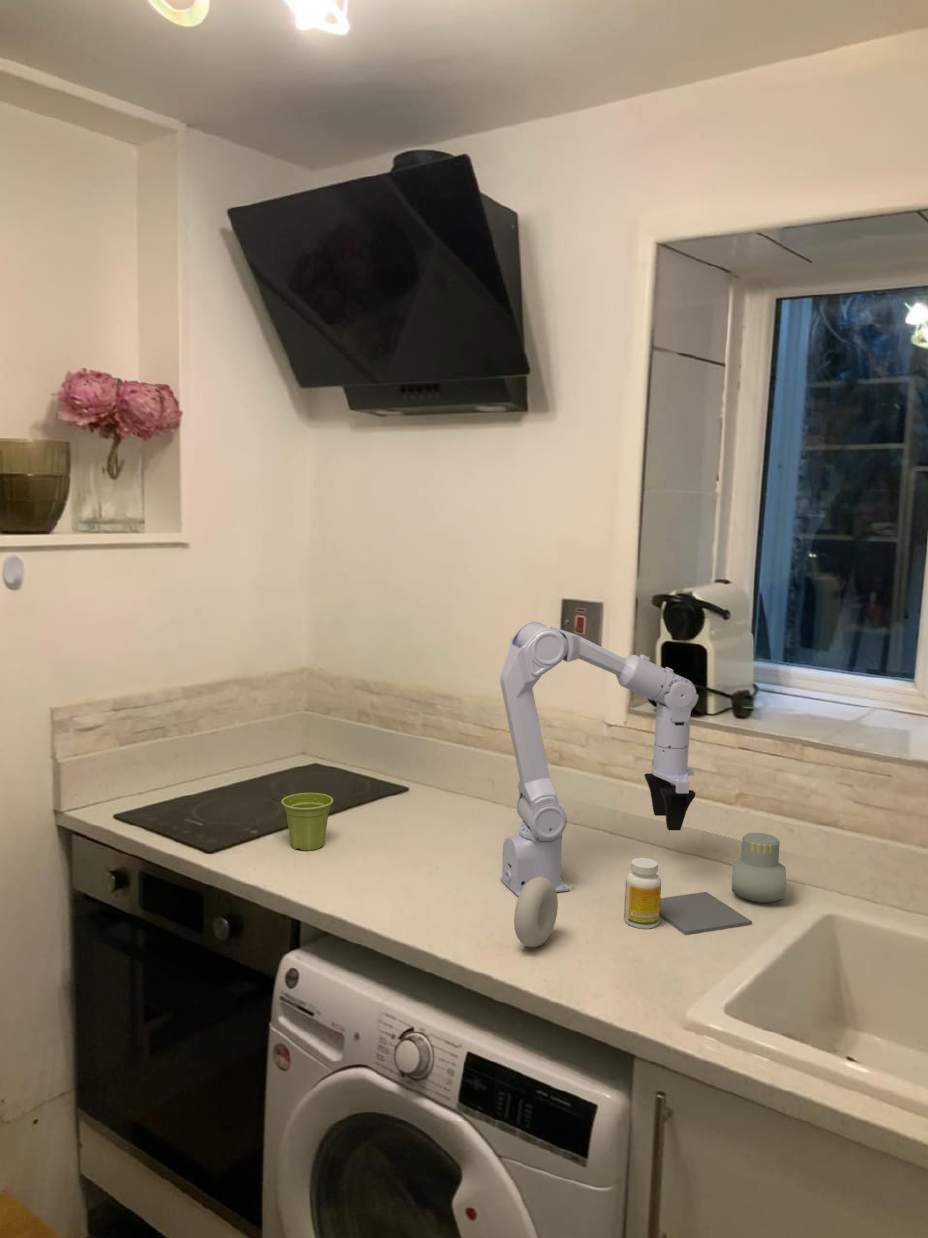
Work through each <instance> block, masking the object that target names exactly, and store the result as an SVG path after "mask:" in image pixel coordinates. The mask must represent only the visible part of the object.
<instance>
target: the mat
mask: <svg viewBox="0 0 928 1238" xmlns="http://www.w3.org/2000/svg"><path fill="white" fill-rule="evenodd" d="M659 917H661V918H662V919H663V920H665V921H666V922H667V923H669V924H670V925H671V926H672V927H674V928H675V929H677V930H678V931H680V933H682V934H684V935H685V936H687V935H694V934H699V933H706V932H711V931H712V932H713V931H718V930H724V929H730V928H731V929H733V928H737V927H738V928H739V927H744V926H749V925H750V926H751V925H752V924H753V921H752V920H751V919H749V918H748V917H746V916H744V915H743V914H742V913H740V912H738V911H736V910H735V909H734V908H732V907H731V906H729V905H728V904H726V903H724V902H723V901H721V900H720V899H718V898H717V897H715V896H714V895H712V894H710V893H709V892H707V891H702V892H695V893H689V894H683V895H682V894H680V895H673V896H667V897H666V896H665V897H660V912H659Z"/></svg>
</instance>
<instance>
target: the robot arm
mask: <svg viewBox="0 0 928 1238" xmlns="http://www.w3.org/2000/svg"><path fill="white" fill-rule="evenodd" d="M576 660H581V661H584V662H586V663H588V664H590V665H592V666H594V667H597V668H599V669H601V670H604V671H606V672H608V673H611V674H613V675H615V677H616V679H617V682H618V684H619V686H620V687H622V688H625V689H627V690H629V691H631V692H633V693H636V694H638V695H640V696H642V697H644V698H645V699H649V700H650V701H654V702H655V703H656V709H655V710H656V713H655V730H654V743H653V744H654V746H653V758H652V759H651V760H652V761H651V773H649V772H648V773H645V774H644V778H645V781H646V784H647V785H648V790H649V793H650V797H651V798H650V799H651V803H652V810H653V815H654V816H656V817H659V816H660V817H661V816H662V817H663V816H664V817H665V823H666V828H667V830H668V831H681V829H682V826H683V823H684V819H685V817H686V814H687V811H688V809H689V806H690V805H691V804H692V802H693V801H694V799H695V797H696V791H694V790H693V789H690V781H689V776H695V771H694V770H693V769H692V768H688V763H689V748H690V747H689V746H690V745H689V744H690V732H691V731H690V729H691V712H692V710H693V709H694V707H696V704H697V703H698V701H699V694H698V693H697V689H696V687H695V685H694V683H693V682H692V681H691V680H689V679H687V678H686V677H683V676H681V675H679V674H676V673H675V672H674V669H672V668H670V667H668V666H666V667H665V668H664V667H662V666H659V665H657V664H656V663H653V662H651V661H650V660H651V658H650V657H649V656H648V655H647V656H646V655H645V654H640V655H639V656H638V655H637V654H632V655H628V656H626V657H622V656H620V655H618V654H616V653H614V652H613V651H610V650H608V649H607V648H604V647H602V646H600V645H598V644H596V643H594V642H592V641H590V640H588V639H587V638H585V637H583V636H581V635H578V634H575V633H573V632H569V631H567V630H563V629H560V628H556V627H553V626H550V627H548V626H547V625H545V624H544V623H542V622H539V621H530V622H527V623H524V624H523V625H521V627H520V628H519V629H518V630H517V631H516V632H515V633H514V635H513V636H512V637H511V638H510V640H509V649H508V652H507V655H506V657H505V660H504V664H503V666H502V669H501V672H500V676H499V683H500V686H501V687H500V688H501V693H502V698H503V702H504V707H505V712H506V718H507V722H508V727H509V732H510V737H511V743H512V747H513V753H514V756H515V757H514V758H515V762H516V767H517V773H518V777H519V781H518V784H517V788H518V789H517V790H518V798H517V801H516V812H517V815H519V816H518V817H520V819H522V822H521V824H520V826H519V828H518V832H517V833H516V834H514V835H512V836H508V837H506V838H505V839H504V841H503V845H502V867H501V869H502V870H501V873H502V874H501V876H500V878H499V880H500V881H501V882H502V883H503V884H504V885H505V886H506V887H507V888H508V889H510V890H511V892H512V893H514V895H516V896H517V897H519V895H520V892H521V891H522V889H523V887H524V885H525V884H526V883H527V882H528V881H530V880H531V879H533V878H536V877H543V878H546V879H548V880H550V881H551V882H552V884H553V885H554V887H555V889H556V893H558V892H559V893H560V892H567V891H570V890H571V887H570V886H569V885H568V884H567V883H565V882H564V881H563V880H562V879H561V873H562V872H561V869H562V849H563V848H562V846H563V845H562V844H563V843H562V842H563V833H564V832H565V830H566V827H567V824H568V817H567V816H568V815H567V813H566V811H565V809H564V808H563V806H561V804H560V803H559V801H558V795H557V792H556V790H555V787H554V785H553V782H552V779H551V777H550V771H549V767H548V766H549V765H548V762H547V757H546V752H545V746H544V741H543V736H542V732H541V730H542V729H541V726H540V721H539V716H538V710H537V705H536V699H535V695H534V691H533V688H534V687H535V685H536V684H537V682H539V680H540V679H541V677H543V675H545V674H546V673H547V672H549V671H550V670H552V669H553V668H555V667H556V666H557V665H559V664H560V663H561V662H562V661H564V662H566V663H569V662H573V661H576Z"/></svg>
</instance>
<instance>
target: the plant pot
mask: <svg viewBox="0 0 928 1238" xmlns="http://www.w3.org/2000/svg"><path fill="white" fill-rule="evenodd" d="M333 804H334V798H333V797H331V795H328V794H324V793H319V792H318V793H317V792H302V793H301V792H299V793H294V794H291V795H288V796H284V797H283V798H282V799H281V805H282V806H283V808H284V812H285V813H286V821H287V827H288V833H289V842H290V847H291V848H292V849H294V850H297V849H299V850H301V851H306V850H307V852H308V851H314V850H319V849H320V848H321V847H324V845H325V843H326V841H325V840H326V834H327V826H328V820H329V812H330V810H331V807H332V805H333Z"/></svg>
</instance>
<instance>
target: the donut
mask: <svg viewBox="0 0 928 1238" xmlns="http://www.w3.org/2000/svg"><path fill="white" fill-rule="evenodd" d="M557 893H558V892H556V889H555V887H554V885H553V884H552V882H551V881H550V880H548V879H546V878H543V877H536V878H533V879H531V880H530V881H528V882H527V883H526V884H525V885H524V887H523V889H522V891H521V892H520V895H519V896H517V897H518V898H517V900H516V904H515V908H514V918H513V924H514V925H513V926H514V932H515V934H516V938H517V939H518V940H519V942H520V943H521V944H522V945H523V946H525V947H527V948H538V947H540V946H541V945H543V944H545V943H546V941H547V940H548V939H549V937H550V936H551V934H552V932H553V930H554V926H555V923H556V919H557V916H558V915H557V914H558V907H559V905H558V904H559V903H558V894H557Z"/></svg>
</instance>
